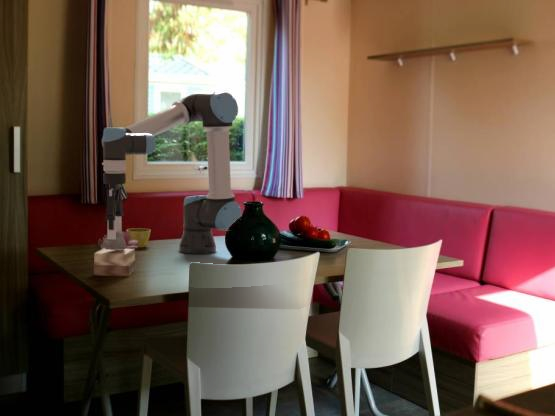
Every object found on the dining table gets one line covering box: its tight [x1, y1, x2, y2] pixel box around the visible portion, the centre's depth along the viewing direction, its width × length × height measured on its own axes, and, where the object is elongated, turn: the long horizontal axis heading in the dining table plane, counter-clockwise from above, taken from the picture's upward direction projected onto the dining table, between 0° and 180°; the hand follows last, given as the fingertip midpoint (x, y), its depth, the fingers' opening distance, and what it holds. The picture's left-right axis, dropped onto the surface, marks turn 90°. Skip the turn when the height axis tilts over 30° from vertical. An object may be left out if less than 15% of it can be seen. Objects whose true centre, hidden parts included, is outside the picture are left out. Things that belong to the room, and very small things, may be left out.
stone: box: [103, 230, 127, 250], centre depth 253 cm, size 8×10×6 cm
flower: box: [97, 230, 138, 250], centre depth 283 cm, size 15×15×10 cm
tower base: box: [93, 259, 137, 277], centre depth 254 cm, size 12×12×4 cm
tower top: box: [93, 248, 136, 266], centre depth 253 cm, size 11×11×4 cm
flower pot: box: [125, 227, 152, 249], centre depth 306 cm, size 10×10×7 cm
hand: (114, 236), depth 253 cm, fingers closed on stone, 9 cm apart
